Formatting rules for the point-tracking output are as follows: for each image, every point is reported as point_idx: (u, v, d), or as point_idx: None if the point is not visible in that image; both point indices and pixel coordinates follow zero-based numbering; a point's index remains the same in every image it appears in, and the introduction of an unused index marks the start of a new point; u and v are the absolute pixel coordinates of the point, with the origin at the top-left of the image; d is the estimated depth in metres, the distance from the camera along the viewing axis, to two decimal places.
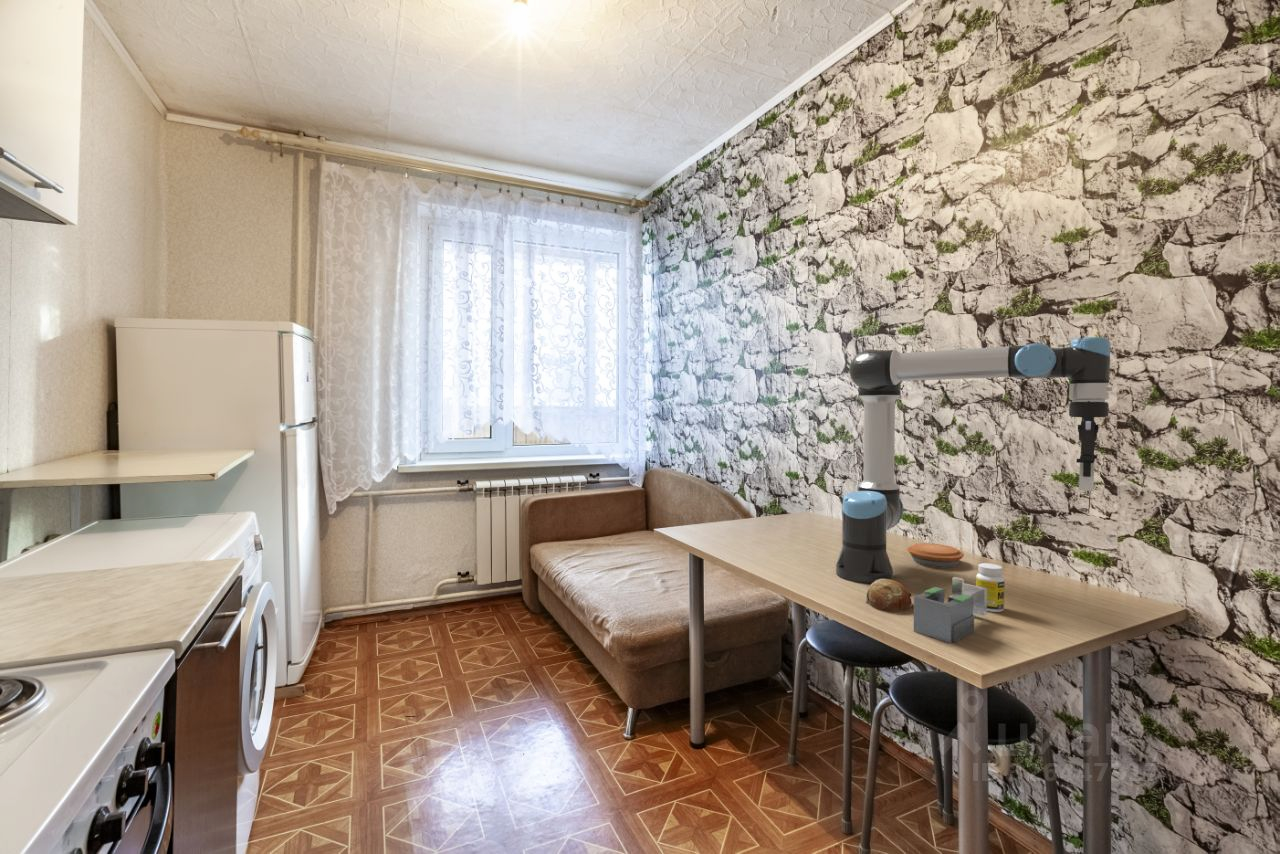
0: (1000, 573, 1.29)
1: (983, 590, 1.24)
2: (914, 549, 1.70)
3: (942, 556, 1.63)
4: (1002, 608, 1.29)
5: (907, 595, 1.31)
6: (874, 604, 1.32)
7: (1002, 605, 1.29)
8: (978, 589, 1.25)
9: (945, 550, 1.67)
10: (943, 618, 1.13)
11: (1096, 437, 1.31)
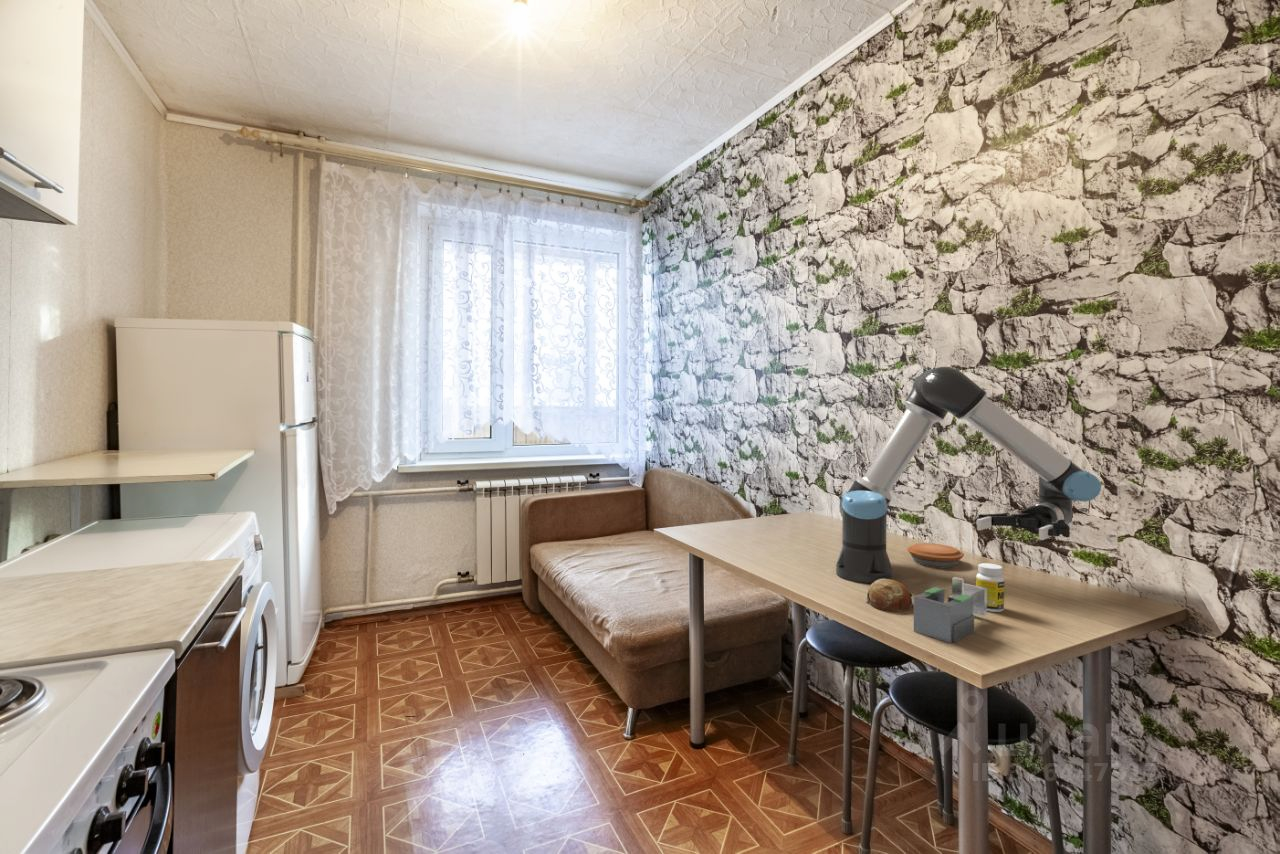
0: (1000, 573, 1.29)
1: (983, 590, 1.24)
2: (914, 549, 1.70)
3: (942, 556, 1.63)
4: (1002, 608, 1.29)
5: (908, 595, 1.31)
6: (875, 604, 1.32)
7: (1002, 605, 1.29)
8: (978, 589, 1.25)
9: (945, 550, 1.67)
10: (943, 618, 1.13)
11: None
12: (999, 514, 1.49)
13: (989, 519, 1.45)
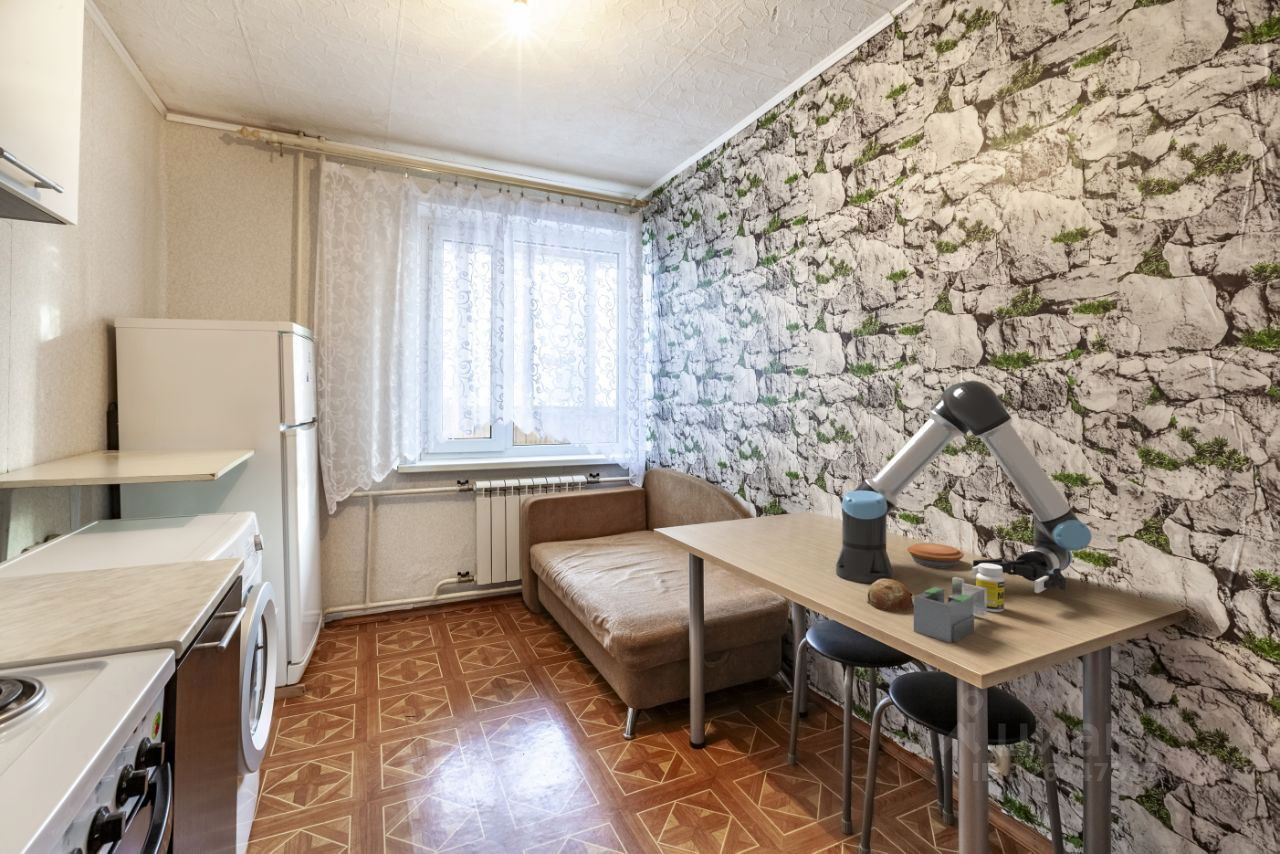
0: (1000, 573, 1.29)
1: (983, 590, 1.24)
2: (914, 549, 1.70)
3: (942, 556, 1.63)
4: (1002, 608, 1.29)
5: (908, 595, 1.31)
6: (875, 604, 1.32)
7: (1002, 605, 1.29)
8: (978, 589, 1.25)
9: (945, 550, 1.67)
10: (943, 618, 1.13)
11: None
12: (994, 560, 1.47)
13: None
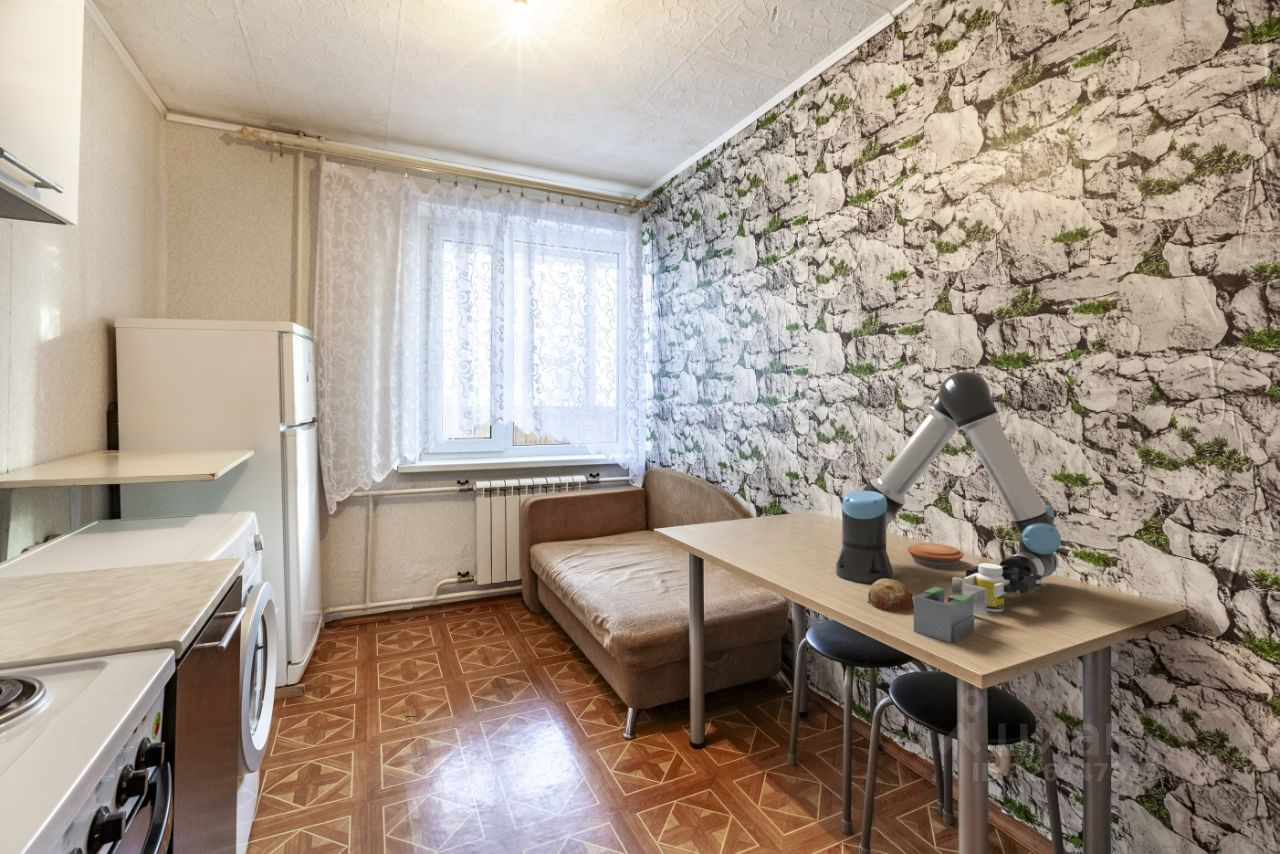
0: (1000, 573, 1.29)
1: (983, 590, 1.24)
2: (914, 549, 1.70)
3: (942, 556, 1.63)
4: (1002, 608, 1.29)
5: (909, 595, 1.31)
6: (876, 604, 1.32)
7: (1002, 605, 1.29)
8: (978, 589, 1.25)
9: (945, 550, 1.67)
10: (943, 618, 1.13)
11: None
12: None
13: None
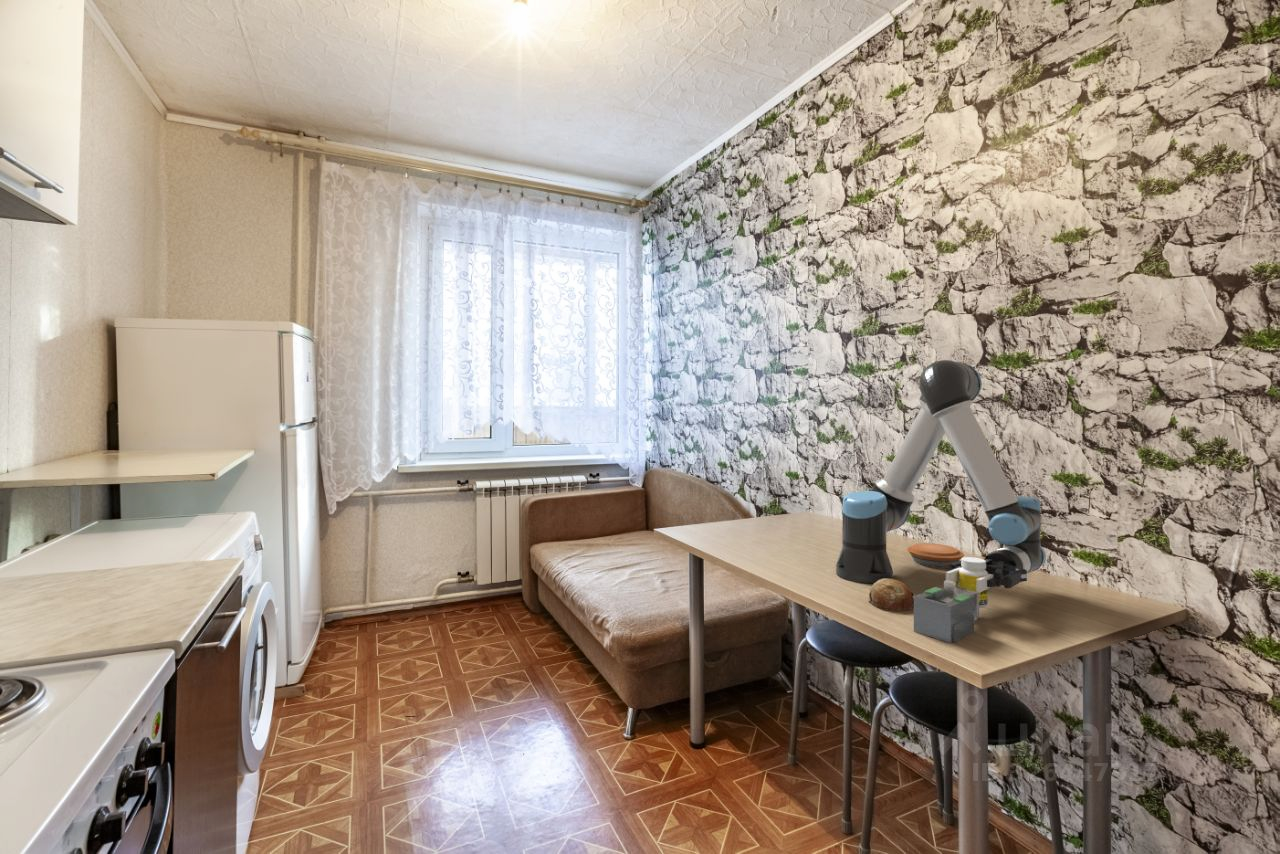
0: (983, 567, 1.23)
1: (975, 593, 1.22)
2: (914, 549, 1.70)
3: (942, 556, 1.63)
4: (985, 604, 1.23)
5: (910, 595, 1.31)
6: (877, 604, 1.32)
7: (985, 600, 1.23)
8: (970, 592, 1.22)
9: (945, 550, 1.67)
10: (943, 618, 1.13)
11: None
12: None
13: None
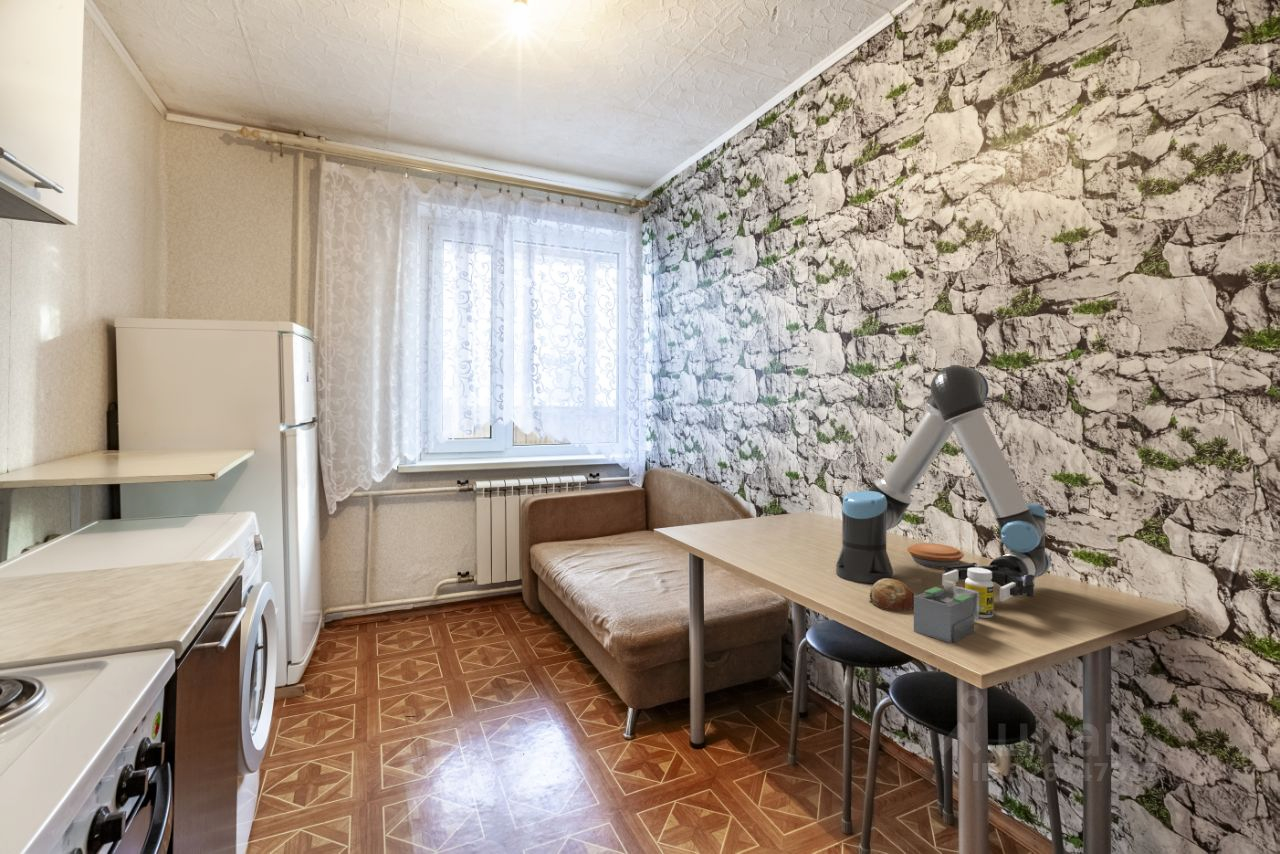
0: (989, 578, 1.25)
1: (975, 593, 1.22)
2: (914, 549, 1.70)
3: (942, 556, 1.63)
4: (991, 614, 1.25)
5: (910, 595, 1.31)
6: (877, 604, 1.32)
7: (991, 611, 1.25)
8: (970, 592, 1.22)
9: (945, 550, 1.67)
10: (943, 618, 1.13)
11: None
12: (966, 565, 1.38)
13: (956, 573, 1.33)
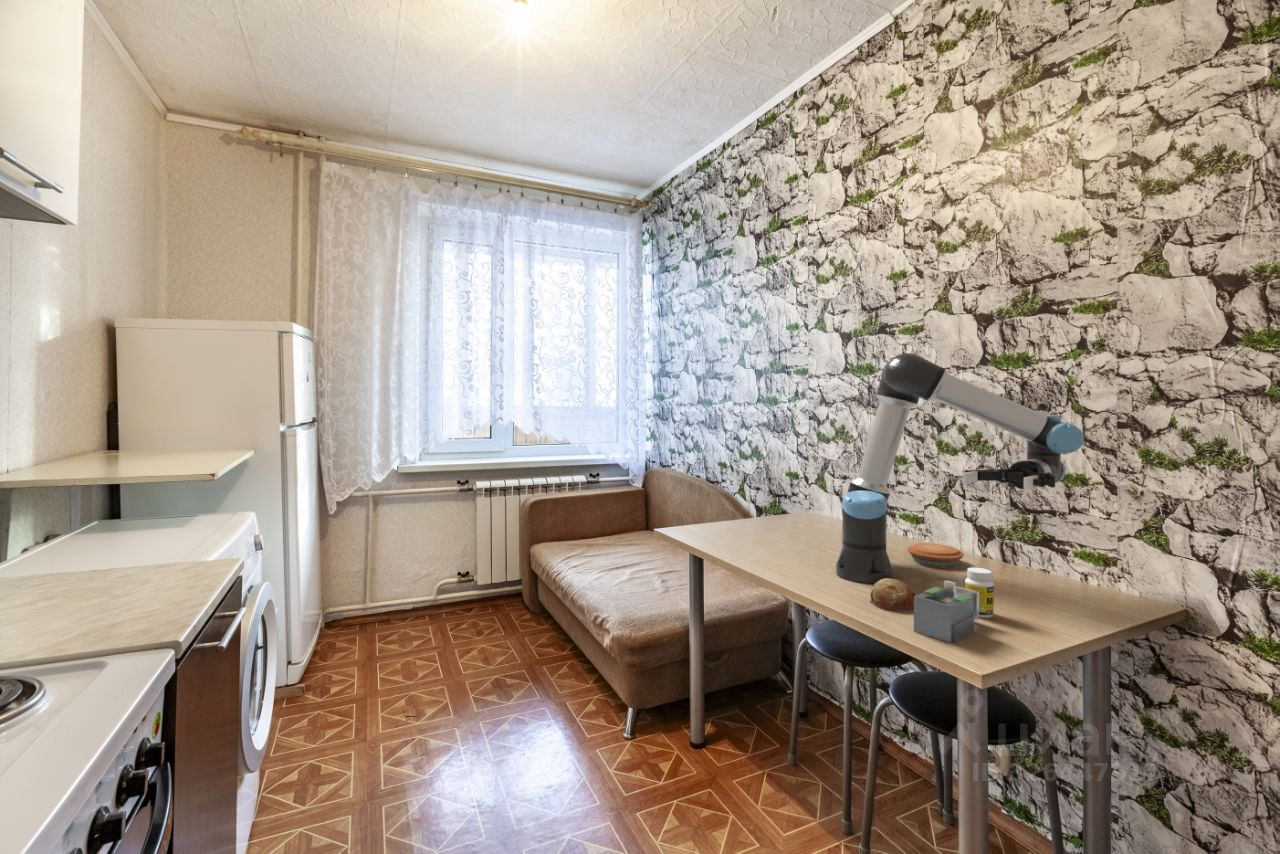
0: (989, 578, 1.25)
1: (975, 593, 1.22)
2: (914, 549, 1.70)
3: (942, 556, 1.63)
4: (991, 614, 1.25)
5: (911, 595, 1.31)
6: (878, 604, 1.32)
7: (991, 611, 1.25)
8: (970, 592, 1.22)
9: (945, 550, 1.67)
10: (943, 618, 1.13)
11: None
12: (986, 470, 1.47)
13: (975, 473, 1.43)
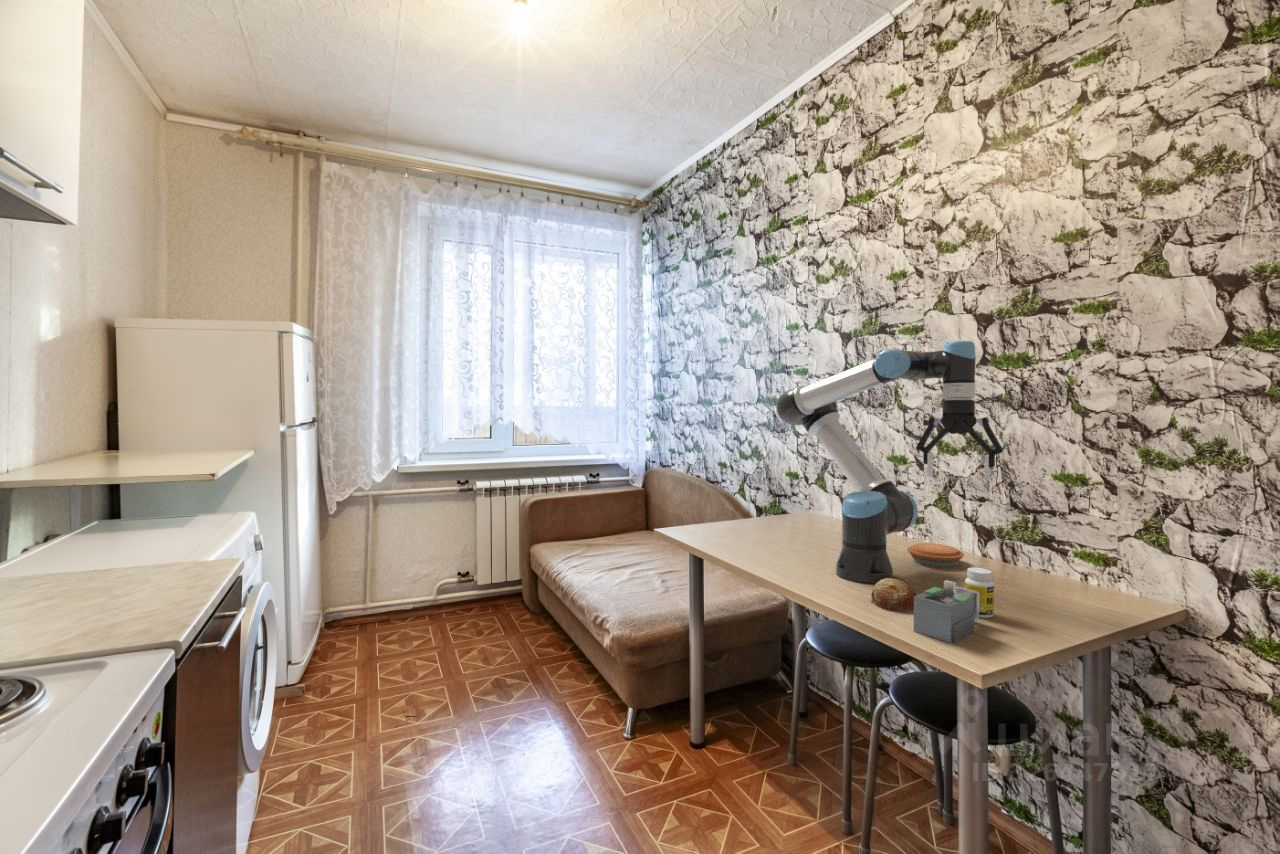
0: (989, 578, 1.25)
1: (975, 593, 1.22)
2: (914, 549, 1.70)
3: (942, 556, 1.63)
4: (991, 614, 1.25)
5: (912, 594, 1.32)
6: (879, 603, 1.32)
7: (991, 611, 1.25)
8: (970, 592, 1.22)
9: (945, 550, 1.67)
10: (943, 618, 1.13)
11: None
12: None
13: None
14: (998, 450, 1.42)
